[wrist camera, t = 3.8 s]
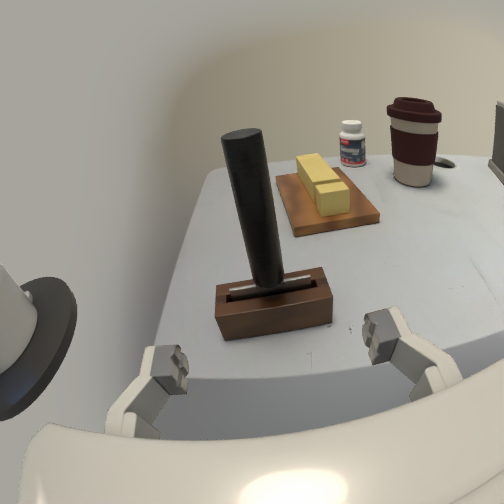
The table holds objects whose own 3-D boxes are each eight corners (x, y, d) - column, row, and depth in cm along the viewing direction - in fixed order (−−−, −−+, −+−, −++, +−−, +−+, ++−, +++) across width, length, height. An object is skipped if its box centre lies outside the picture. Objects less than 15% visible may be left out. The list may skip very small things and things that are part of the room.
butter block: (314, 204, 40) (312, 181, 37) (297, 174, 49) (295, 156, 47) (340, 200, 39) (340, 178, 37) (319, 171, 49) (317, 153, 47)
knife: (240, 332, 26) (183, 150, 16) (239, 312, 28) (189, 140, 18) (314, 320, 25) (300, 128, 15) (309, 300, 28) (292, 121, 17)
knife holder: (224, 340, 25) (214, 317, 23) (224, 309, 29) (216, 284, 27) (332, 322, 25) (333, 296, 23) (322, 292, 28) (321, 266, 26)
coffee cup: (388, 188, 43) (388, 101, 34) (385, 167, 50) (384, 94, 41) (442, 193, 39) (448, 107, 31) (431, 172, 46) (434, 99, 38)
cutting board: (294, 237, 37) (293, 227, 36) (276, 183, 51) (275, 176, 50) (379, 222, 36) (380, 213, 35) (338, 174, 50) (338, 167, 49)
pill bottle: (337, 165, 54) (334, 123, 49) (345, 157, 57) (342, 118, 52) (362, 168, 51) (360, 125, 46) (368, 160, 54) (366, 120, 49)
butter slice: (321, 217, 36) (320, 193, 34) (316, 208, 39) (314, 185, 37) (349, 212, 36) (349, 189, 34) (343, 203, 38) (342, 181, 36)
